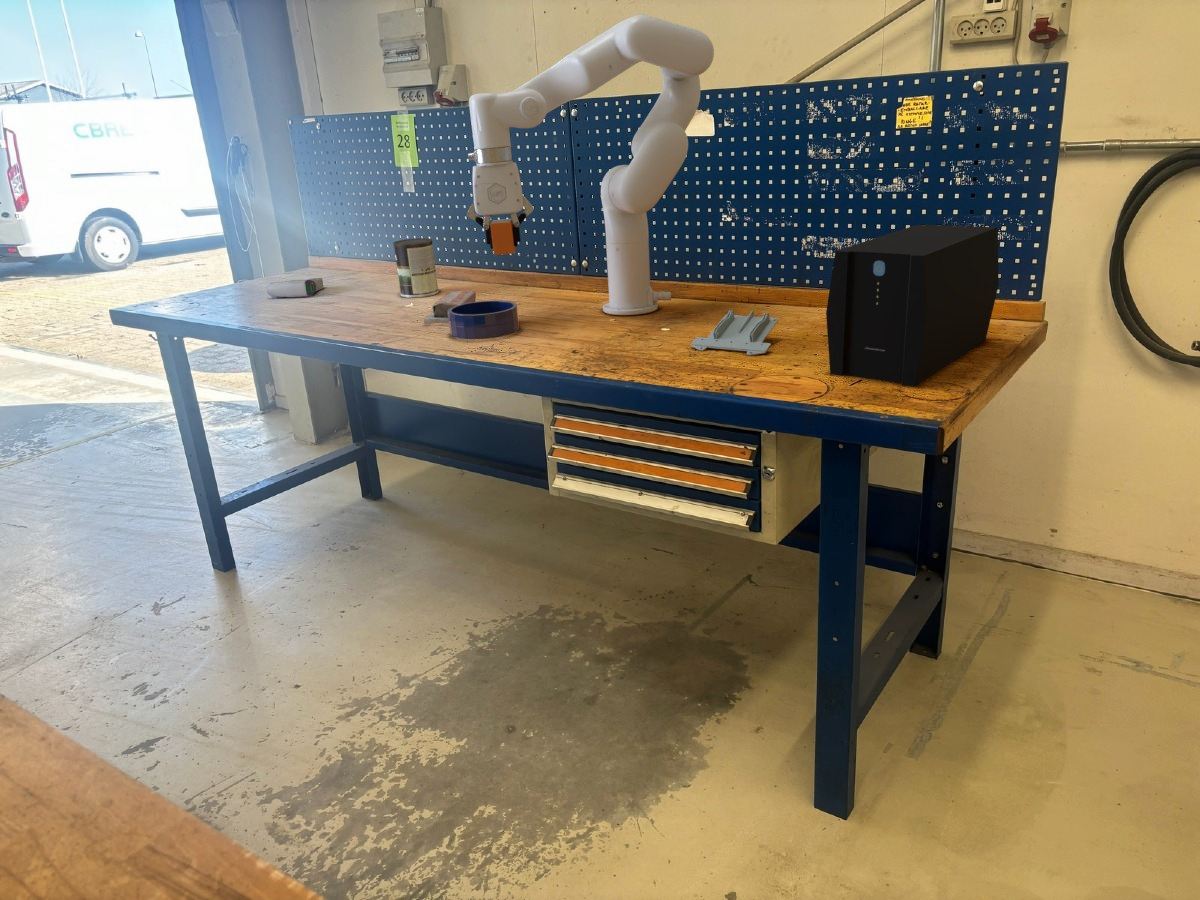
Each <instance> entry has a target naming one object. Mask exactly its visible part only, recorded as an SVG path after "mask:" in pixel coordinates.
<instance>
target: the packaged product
mask: <svg viewBox="0 0 1200 900" xmlns="http://www.w3.org/2000/svg"><path fill="white" fill-rule="evenodd" d="M476 299H477V293H476V292H475V291H474V290H471V289H463V290H452V291H450V292H448V293H447V294H445V295H444V296H443V297H441V298H440V299H439V300H437V301H435V302H434V303H433V304H432V307H431V309H432V312H431V313H429V314H427V316H425V317H423V322H424V323H423V324H449V319H448V310H449V309H450V308H452V307H454V306H457V305H460V304H465V303H471V302H477V301H476Z"/></svg>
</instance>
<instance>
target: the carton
mask: <svg viewBox="0 0 1200 900" xmlns="http://www.w3.org/2000/svg"><path fill="white" fill-rule="evenodd" d="M490 226H491V234H492V243H493V249H492V251H493V256H500V255H512V254H513V255H514V254H515V253H516V250H517V249H516V247H515V246H514V241H513V232H512V227H513V221H512V218H504V219H503V218H502V219H492V221H490Z"/></svg>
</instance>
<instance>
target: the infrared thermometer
mask: <svg viewBox="0 0 1200 900" xmlns="http://www.w3.org/2000/svg"><path fill="white" fill-rule="evenodd" d="M322 289H324V280H323V278H322V277H312V278H308V279H293V280H292V279H291V280H284V281H276V282H270V283H269V284H268V285H267V286H266V293H267V295H268V296H270V297H272V298H273V297H275V298H304V297H305V298H306V297H312V296H313V295H314V294H316V292H317V291H320V290H322Z"/></svg>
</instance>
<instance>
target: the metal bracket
mask: <svg viewBox="0 0 1200 900" xmlns="http://www.w3.org/2000/svg"><path fill="white" fill-rule="evenodd" d="M779 321H780V318H777V317H770V313H769V312H764V313H763V315H762V316H755V311H754V310H751V311H750V313H749V314H748V315H738V314H735V312H734V310H731V309H730V310H728V312H727V314H724V316H723V317H722V318H721V319H720V321H719V322H718V323H717V325H716V326H715V327H714V328H713V329H712V330H711V332H710V333H709V334H708V335H707V337H703V336H702V337H701V336H696V337H695V338H694V339H693V341H692V342H691V343H690V347H692V348H694V349H696V350H698V351H701V352H703V351H706V349H718V350H728V351H738V352H739V351H740V352H746V355H747V356H756V355H761V354H766V353H767V352H768V351H769V350H770V348H771V347H772V343H770V342H764V341H765V340H766V338H767V337H768V336H769V335H770V333H771V331H772V330H773V328H774V327H775V326H776V325H777V323H778V322H779Z"/></svg>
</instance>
